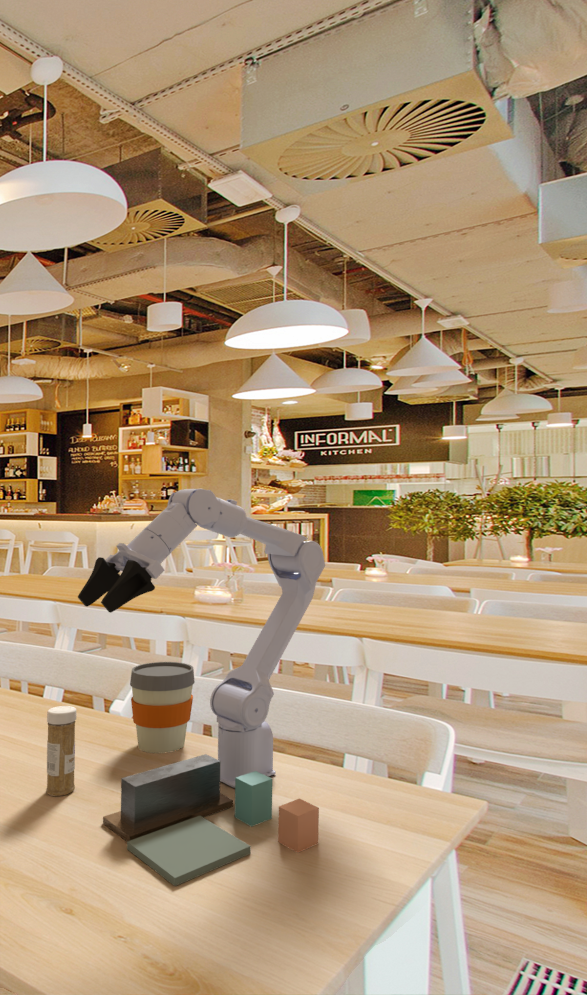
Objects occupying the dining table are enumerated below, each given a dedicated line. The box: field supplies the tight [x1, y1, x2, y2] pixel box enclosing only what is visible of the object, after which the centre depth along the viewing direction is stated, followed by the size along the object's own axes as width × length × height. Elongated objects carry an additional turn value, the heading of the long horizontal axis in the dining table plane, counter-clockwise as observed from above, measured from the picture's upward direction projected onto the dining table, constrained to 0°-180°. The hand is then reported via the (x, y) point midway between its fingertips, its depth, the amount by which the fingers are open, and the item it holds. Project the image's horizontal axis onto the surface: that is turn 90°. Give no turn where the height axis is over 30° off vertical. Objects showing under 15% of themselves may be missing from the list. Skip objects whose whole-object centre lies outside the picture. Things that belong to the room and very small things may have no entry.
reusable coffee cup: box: [129, 661, 195, 754], centre depth 132 cm, size 13×13×15 cm
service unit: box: [102, 753, 234, 843], centre depth 102 cm, size 18×8×7 cm, turn 133°
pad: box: [126, 816, 251, 887], centre depth 91 cm, size 12×12×1 cm
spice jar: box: [45, 705, 77, 797], centre depth 110 cm, size 5×5×14 cm
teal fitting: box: [234, 771, 273, 828], centre depth 101 cm, size 4×4×6 cm
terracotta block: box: [277, 798, 320, 854], centre depth 94 cm, size 4×4×5 cm
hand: (93, 604), depth 99 cm, fingers open, 7 cm apart
